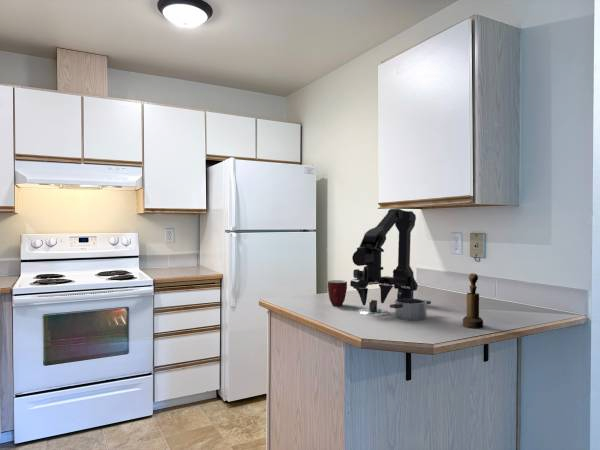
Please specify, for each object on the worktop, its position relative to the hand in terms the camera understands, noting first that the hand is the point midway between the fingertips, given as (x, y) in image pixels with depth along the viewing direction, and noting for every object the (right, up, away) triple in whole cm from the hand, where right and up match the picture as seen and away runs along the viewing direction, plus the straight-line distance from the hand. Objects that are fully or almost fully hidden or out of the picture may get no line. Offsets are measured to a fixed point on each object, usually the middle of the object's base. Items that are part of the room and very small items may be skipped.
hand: (373, 304), depth 167 cm
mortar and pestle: (+31, -4, -20) cm, 37 cm away
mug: (-13, -3, +12) cm, 18 cm away
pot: (+13, -3, -8) cm, 15 cm away
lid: (0, -4, 0) cm, 4 cm away
